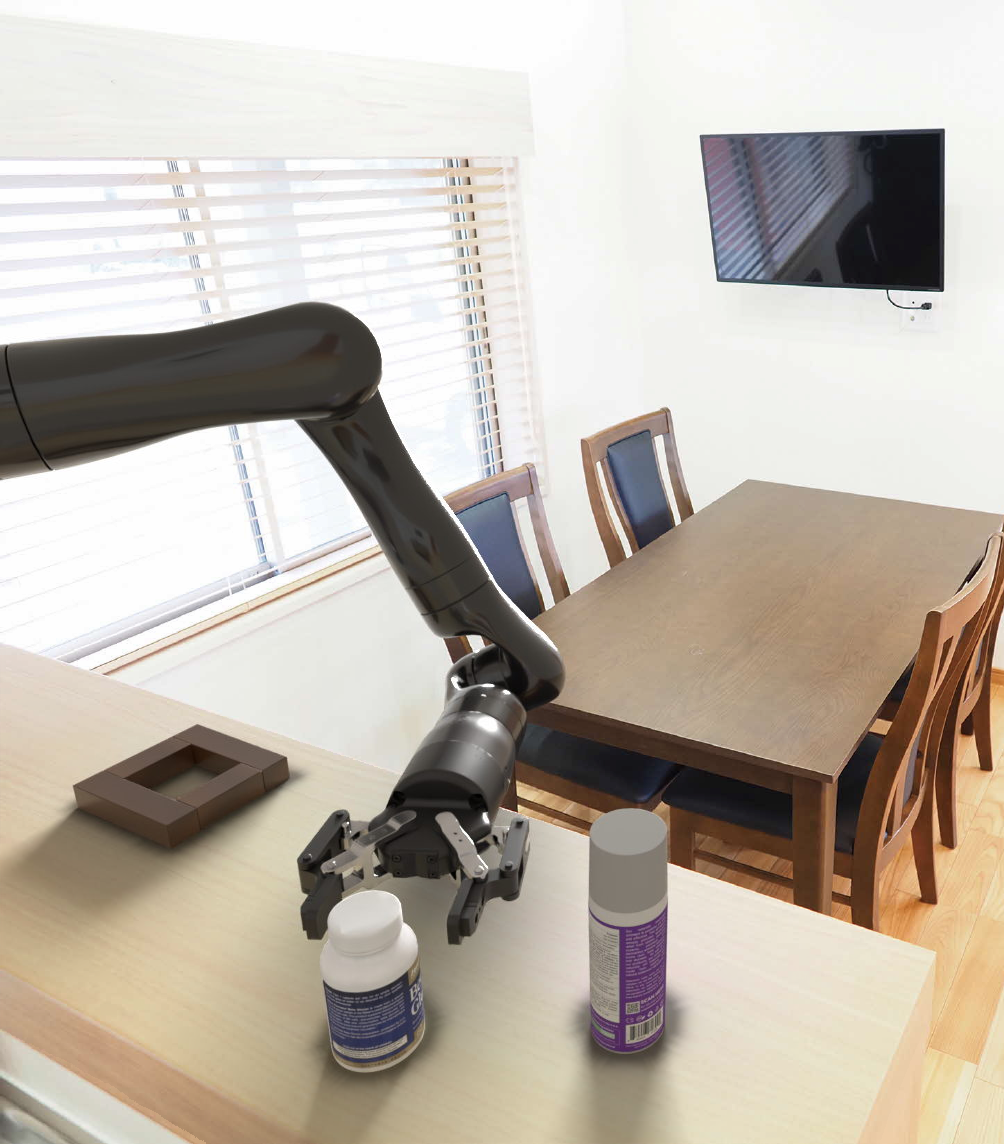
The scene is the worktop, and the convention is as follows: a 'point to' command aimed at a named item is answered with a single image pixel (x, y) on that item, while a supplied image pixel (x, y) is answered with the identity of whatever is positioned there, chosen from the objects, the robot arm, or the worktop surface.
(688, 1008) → the worktop surface
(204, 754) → the frame
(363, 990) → the pill bottle
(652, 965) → the container
